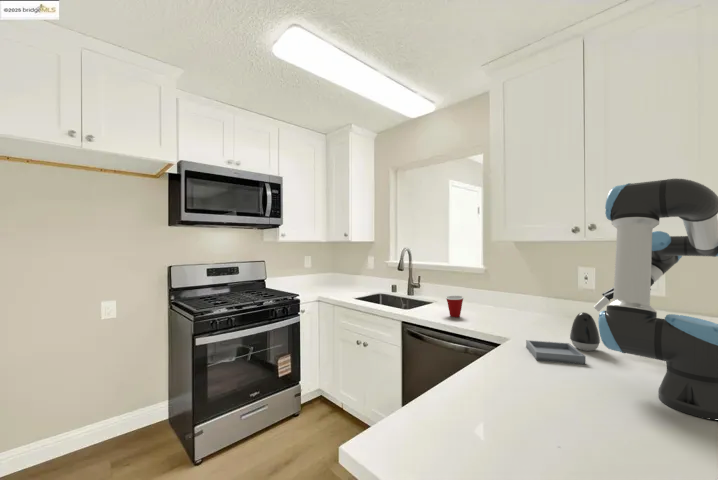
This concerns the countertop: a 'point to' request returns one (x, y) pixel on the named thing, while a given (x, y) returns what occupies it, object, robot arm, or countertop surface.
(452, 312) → the plastic cup
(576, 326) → the black egg-shaped dome
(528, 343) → the tray
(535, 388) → the countertop surface
